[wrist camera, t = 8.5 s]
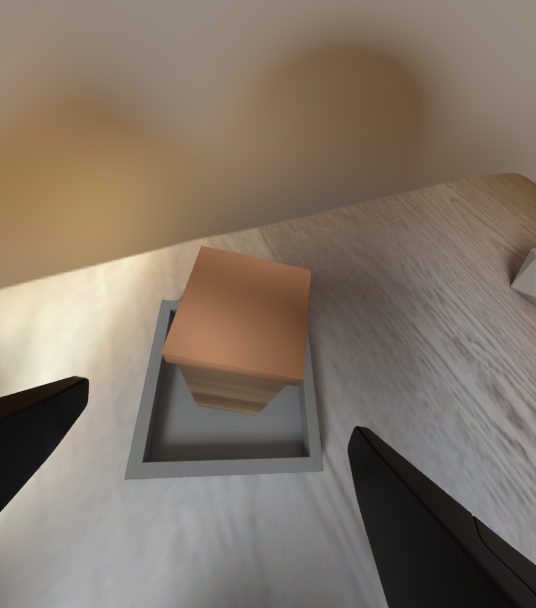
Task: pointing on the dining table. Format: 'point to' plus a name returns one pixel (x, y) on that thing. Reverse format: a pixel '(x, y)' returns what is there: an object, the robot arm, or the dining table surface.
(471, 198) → the dining table surface
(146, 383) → the tray
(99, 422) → the dining table surface
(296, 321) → the brown block
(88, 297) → the dining table surface
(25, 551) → the dining table surface
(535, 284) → the die
